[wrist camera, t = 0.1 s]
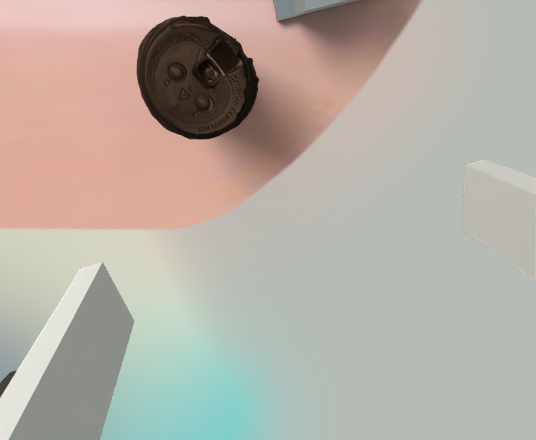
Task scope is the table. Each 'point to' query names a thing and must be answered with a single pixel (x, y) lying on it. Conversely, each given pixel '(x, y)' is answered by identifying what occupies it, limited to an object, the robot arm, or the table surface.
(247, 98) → the coffee cup
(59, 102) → the table surface
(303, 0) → the mount
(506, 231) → the robot arm
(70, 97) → the table surface
